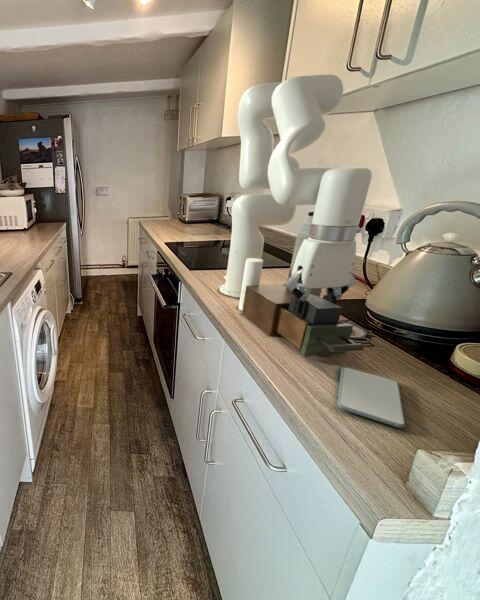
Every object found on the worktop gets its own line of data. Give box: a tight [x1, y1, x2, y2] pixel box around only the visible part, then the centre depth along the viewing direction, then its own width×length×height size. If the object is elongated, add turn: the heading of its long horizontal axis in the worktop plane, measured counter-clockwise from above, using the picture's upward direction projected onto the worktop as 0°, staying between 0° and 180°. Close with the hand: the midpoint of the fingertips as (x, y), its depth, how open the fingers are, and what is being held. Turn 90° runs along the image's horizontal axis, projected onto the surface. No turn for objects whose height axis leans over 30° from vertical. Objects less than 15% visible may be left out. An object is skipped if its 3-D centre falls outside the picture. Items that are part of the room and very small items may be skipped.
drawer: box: [274, 306, 365, 357], centre depth 70 cm, size 17×9×7 cm, turn 2°
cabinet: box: [241, 283, 293, 337], centre depth 83 cm, size 14×10×9 cm
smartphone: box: [336, 367, 406, 429], centre depth 56 cm, size 8×1×15 cm
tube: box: [238, 258, 264, 312], centre depth 91 cm, size 4×4×15 cm
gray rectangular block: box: [289, 294, 343, 324], centre depth 70 cm, size 6×8×4 cm
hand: (312, 314), depth 71 cm, fingers closed on gray rectangular block, 5 cm apart
